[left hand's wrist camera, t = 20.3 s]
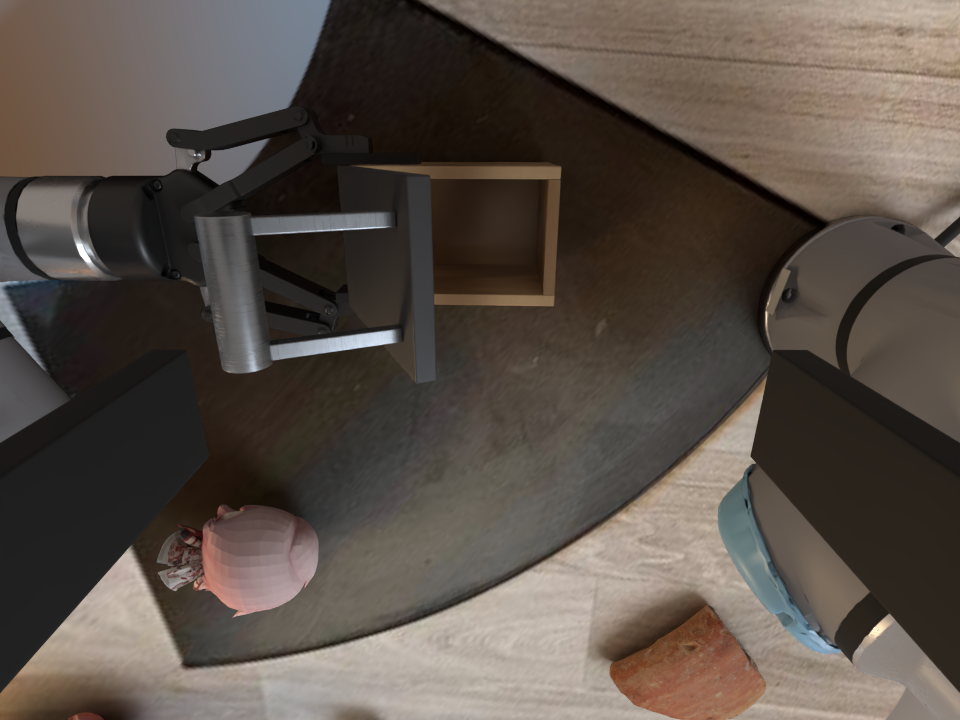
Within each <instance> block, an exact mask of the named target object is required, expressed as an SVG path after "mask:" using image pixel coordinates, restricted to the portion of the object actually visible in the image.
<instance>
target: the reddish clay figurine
mask: <svg viewBox="0 0 960 720" xmlns="http://www.w3.org/2000/svg"><path fill="white" fill-rule="evenodd" d="M66 720H104V719H103V718H102V717H101V716H99V715H97V714H95V713H89V712H84V713H79V714H76V715H74V716H72V717H70V718H68V719H66Z"/></svg>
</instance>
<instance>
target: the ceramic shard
mask: <svg viewBox="0 0 960 720" xmlns="http://www.w3.org/2000/svg"><path fill="white" fill-rule="evenodd" d="M610 677H611V678H612V680H613V682H614V683H615V685H616V686H617V688H618V689H619V690H620V692H621V693H623V694H624V695H625V696H626V697H627V698H628V699H629V700H630V701H631V702H632V703H633V704H634V705H636V706H639V707H642V708H645V709H647V710H650V711H653V712H656V713H660V714H663V715H667V716H669V717H671V718H676V719H681V720H725V719H732V718H735V717H736V716H737V715H739V714H740V713H742V712H743V711H745V710H746V709H748V708H749V707H751V706H752V705H753V704H754V703H755V702H756V701H757V700H758V699H759V698H760V697H761V696H762V695H763V693H764V691H765V688H766V683H765V681H764V679H763V677H762V676H761V675H760V673H759V672H758V667H757V665H756V664H755V662H754V660H753V659H752V658H751V657H750V656H749V655H748V654H747V653H746V652H745V651H744V650H743V649H742V648H741V647H740V645H739V644H738V642H737V641H736V639H735V637H734V636H733V635H732V634H731V633H730V632H729V631H728V630H727V629H726V628H725V625H724V624H723V622H722V621H721V620H720V618H719V616H718V615H717V614H716V612H715V611H714V609H713V608H712V607H711V606H709V605H705V606H704V607H703V608H702V609H701V610H700V611H699V612H698V613H696V614H695V615H694V616H693V617H691V618H690V619H689V620H688V621H686V622H685V623H683V624H682V625H681V626H679V627H678V628H676V629H675V630H673V631H672V632H670V633H668V634H667V635H665V636H663V637H662V638H660V639H658V640H657V641H656V642H655V643H654V644H653V645H652V646H650V647H649V648H645V649H642V650H640V651H638V652H636V653H634V654H632V655H630V656H628V657H626V658H625V659H622V660H619V661H617V662H613V663H612V664H611V666H610Z"/></svg>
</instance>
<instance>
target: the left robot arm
mask: <svg viewBox="0 0 960 720" xmlns="http://www.w3.org/2000/svg"><path fill="white" fill-rule="evenodd" d="M958 234H960V217H959V218H958V219H957V220H956V221H955V222H953V223H952V224H951V225H950V226H949V227H948V228H947V229H946V230H944V231H943V232H942V233H941V234H940V235H939V236H938V237H936V238H935V239H933V238H931V237H930V236H929V235H928V234H926V233H925V232H923V231H922V230H920V229H919V228H917V227H915V226H914V225H912V224H910V223H907V222H904V221H901V220H897V219H892V218H886V217H880V216H873V215H859V216H851V217H845V218H841V219H838V220H835V221H832V222H829V223H827V224H825V225H822V226H820V227H818V228H816V229H815V230H813V231H811V232H810V233H808V234H807V235H805V236H804V237H802V238H801V239H800V240H799V241H797V242H796V243H795V244H794V245H793V246H792V247H791V248H789V249H788V251H787V252H786V253H785V254H784V255H783V256H782V257H781V259H780V260H779V261H778V262H777V264H776V265H775V267H774V268H773V270H772V271H771V273H770V275H769V277H768V279H767V281H766V283H765V286H764V288H763V291H762V294H761V299H760V303H759V311H758V321H759V329H760V334H761V337H762V340H763V342H764V345H765V347H766V348H767V350H768V352H769V353H770V354H771V356H772V357H771V362H770V367H769V372H768V376H767V381H766V386H765V390H764V395H763V400H762V405H761V409H760V414H759V419H758V424H757V428H756V433H755V438H754V442H753V447H752V452H751V458H752V459H753V460H754V461H755V462H756V464H752V465H750V466H749V467H748V468H747V469H746V471H745V472H744V476H743V478H742V479H741V480H740V481H739V482H738V483H737V484H736V485H735V486H734V487H733V488H732V489H731V490H730V491H729V492H728V494H727V495H726V496H725V497H724V498H723V499H722V501H721V503H720V505H719V508H718V527H719V531H720V534H721V538H722V540H723V543H724V545H725V547H726V549H727V551H728V553H729V555H730V557H731V559H732V561H733V563H734V564H735V566H736V568H737V569H738V571H739V572H740V574H741V575H742V577H743V578H744V580H745V581H746V583H747V584H748V586H749V587H750V588H751V590H752V591H753V593H754V594H755V595H756V597H757V598H758V599H759V600H760V602H761V603H762V604H763V605H764V607H765V608H766V609H767V610H768V611H769V612H770V613H771V614H776V615H777V617H778V619H779V620H780V622H781V623H782V625H783V627H784V628H785V629H786V630H787V631H788V632H789V633H790V634H791V635H792V636H793V637H795V638H796V639H797V640H798V641H799V642H801V643H802V644H803V645H805V646H806V647H808V648H810V649H811V650H813V651H816V652H819V653H823V654H829V653H840V652H841V651H842V652H843V653H844V654H845V656H846V657H847V658H848V659H849V660H850V661H851V662H852V664H853V665H854V666H855V667H856V668H857V669H858V670H859V671H860V672H862V673H866V674H869V675H873V676H877V677H881V678H885V679H888V680H892V681H896V682H899V683H901V684H902V685H904V686H906V687H908V688H909V689H910V690H911V692H912V693H913V694H914V695H915V696H916V697H917V698H918V699H919V700H920V701H921V703H922V704H923V705H924V706H925V707H926V708H927V709H928V710H929V711H930V712H931V713H932V715H933V716H934V717H935V718H936V719H937V720H960V258H959V257H955V256H954V255H953V254H952V253H950V252H949V251H948V250H947V249H945V248H944V247H945V246H946V245H947V244H948V243H949V242H951V241H952V240H953V239H954V238H955V237H956V236H957V235H958ZM208 458H209V452H208V447H207V442H206V438H205V433H204V428H203V424H202V419H201V414H200V409H199V405H198V400H197V395H196V390H195V386H194V381H193V376H192V372H191V367H190V362H189V357H188V353H187V350H152V351H150V352H148V353H147V354H145V355H143V356H142V357H140V358H138V359H137V360H135V361H134V362H132V363H130V364H129V365H127V366H125V367H124V368H122V369H120V370H119V371H117V372H115V373H114V374H112V375H111V376H109V377H107V378H106V379H104V380H102V381H101V382H99V383H97V384H96V385H94V386H92V387H91V388H89V389H88V390H86V391H84V392H83V393H81V394H79V395H78V396H76V397H74V398H73V399H71V400H69V401H68V402H66V403H65V404H63V405H61V406H60V407H58V408H56V409H55V410H53V411H51V412H50V413H48V414H46V415H45V416H43V417H42V418H40V419H38V420H37V421H35V422H33V423H32V424H30V425H28V426H27V427H25V428H23V429H22V430H20V431H19V432H17V433H15V434H14V435H12V436H10V437H9V438H7V439H5V440H4V441H2V442H0V693H1V692H2V691H3V689H4V688H5V687H6V686H7V685H8V684H9V683H10V681H11V680H12V679H13V678H14V677H15V676H16V675H17V674H18V672H19V671H20V670H21V669H22V668H23V667H24V666H25V665H26V663H27V662H28V661H29V660H30V659H31V658H32V657H33V655H34V654H35V653H36V652H37V651H38V650H39V649H40V648H41V646H42V645H43V644H44V643H45V642H46V641H47V640H48V639H49V637H50V636H51V635H52V634H53V633H54V632H55V631H56V629H57V628H58V627H59V626H60V625H61V624H62V623H63V622H64V620H65V619H66V618H67V617H68V616H69V615H70V614H71V613H72V611H73V610H74V609H75V608H76V607H77V606H78V605H79V603H80V602H81V601H82V600H83V599H84V598H85V597H86V596H87V594H88V593H89V592H90V591H91V590H92V589H93V588H94V587H95V585H96V584H97V583H98V582H99V581H100V580H101V579H102V577H103V576H104V575H105V574H106V573H107V572H108V571H109V570H110V568H111V567H112V566H113V565H114V564H115V563H116V562H117V560H118V559H119V558H120V557H121V556H122V555H123V554H124V553H125V551H126V550H127V549H128V548H129V547H130V546H131V545H132V544H133V542H134V541H135V540H136V539H137V538H138V537H139V536H140V534H141V533H142V532H143V531H144V530H145V529H146V528H147V527H148V525H149V524H150V523H151V522H152V521H153V520H154V519H155V518H156V516H157V515H158V514H159V513H160V512H161V511H162V510H163V508H164V507H165V506H166V505H167V504H168V503H169V502H170V501H171V499H172V498H173V497H174V496H175V495H176V494H177V493H178V492H179V490H180V489H181V488H182V487H183V486H184V485H185V484H186V482H187V481H188V480H189V479H190V478H191V477H192V476H193V475H194V473H195V472H196V471H197V470H198V469H199V468H200V467H201V465H202V464H203V463H204V462H205V461H206V460H207V459H208Z"/></svg>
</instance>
